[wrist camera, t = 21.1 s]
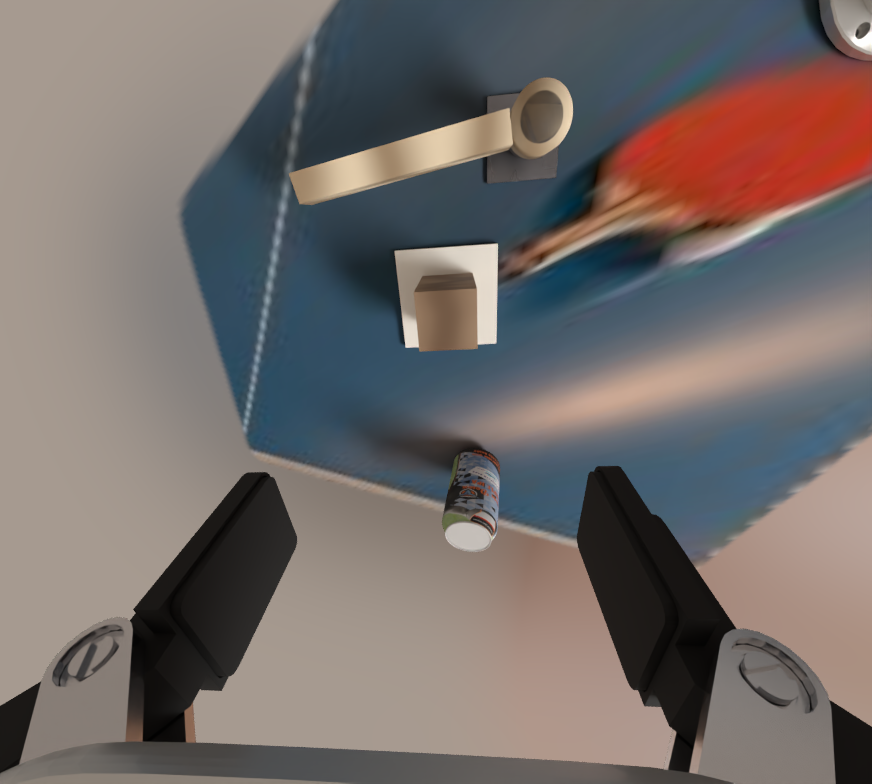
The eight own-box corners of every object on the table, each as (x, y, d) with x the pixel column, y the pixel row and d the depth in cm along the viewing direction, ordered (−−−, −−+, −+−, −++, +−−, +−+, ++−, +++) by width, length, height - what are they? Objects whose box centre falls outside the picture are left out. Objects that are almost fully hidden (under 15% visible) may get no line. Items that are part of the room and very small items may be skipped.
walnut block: (472, 272, 33) (476, 288, 26) (473, 322, 35) (477, 348, 28) (422, 275, 34) (413, 292, 26) (426, 324, 36) (419, 351, 29)
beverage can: (507, 463, 45) (523, 540, 34) (464, 488, 47) (466, 567, 37) (479, 433, 43) (486, 505, 32) (435, 461, 45) (429, 536, 35)
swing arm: (546, 100, 27) (571, 68, 21) (550, 159, 28) (574, 145, 23) (316, 168, 30) (282, 157, 24) (332, 217, 31) (305, 218, 26)
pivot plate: (562, 89, 27) (563, 88, 27) (555, 177, 30) (556, 177, 29) (487, 97, 27) (487, 96, 27) (487, 183, 30) (487, 183, 30)
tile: (497, 243, 32) (497, 243, 32) (495, 341, 37) (496, 343, 36) (395, 250, 33) (394, 250, 33) (406, 345, 38) (405, 347, 37)
